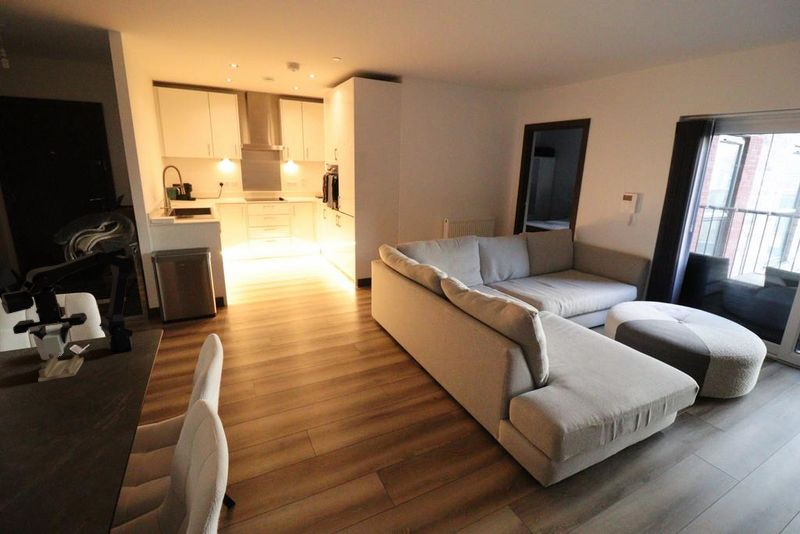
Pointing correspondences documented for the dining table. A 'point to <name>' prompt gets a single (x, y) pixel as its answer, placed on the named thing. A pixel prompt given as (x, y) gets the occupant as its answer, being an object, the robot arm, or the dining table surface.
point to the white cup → (42, 350)
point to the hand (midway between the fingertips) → (57, 344)
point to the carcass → (59, 367)
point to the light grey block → (54, 341)
